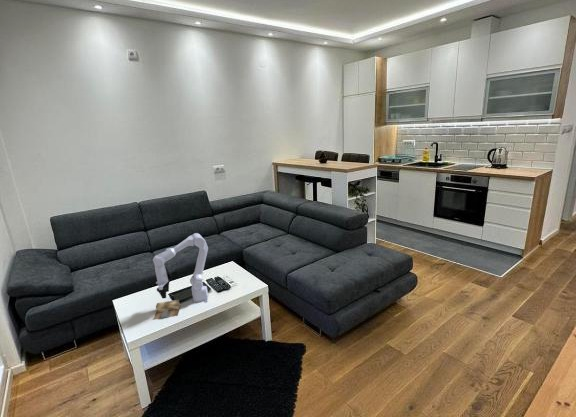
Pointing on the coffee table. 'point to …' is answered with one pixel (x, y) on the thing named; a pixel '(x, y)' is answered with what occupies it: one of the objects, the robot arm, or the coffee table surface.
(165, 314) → the gray stepped block
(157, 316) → the board
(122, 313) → the coffee table surface
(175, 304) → the beech bar
